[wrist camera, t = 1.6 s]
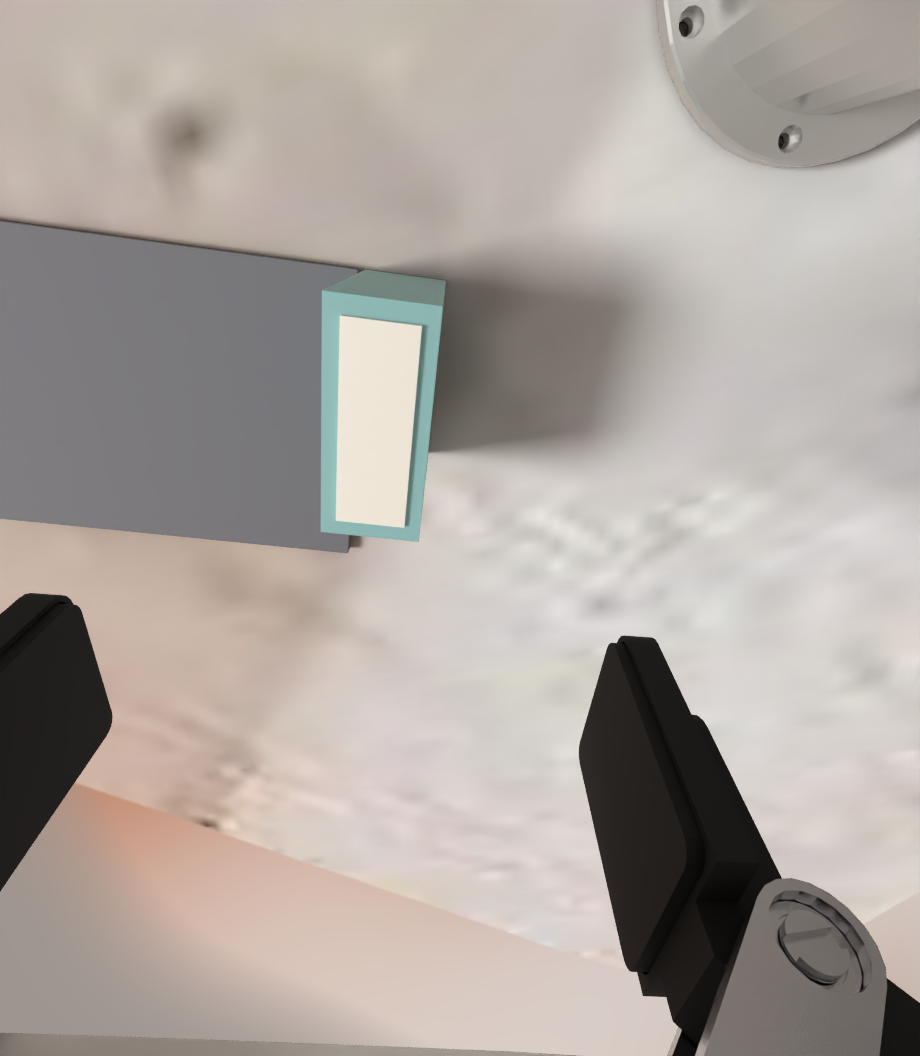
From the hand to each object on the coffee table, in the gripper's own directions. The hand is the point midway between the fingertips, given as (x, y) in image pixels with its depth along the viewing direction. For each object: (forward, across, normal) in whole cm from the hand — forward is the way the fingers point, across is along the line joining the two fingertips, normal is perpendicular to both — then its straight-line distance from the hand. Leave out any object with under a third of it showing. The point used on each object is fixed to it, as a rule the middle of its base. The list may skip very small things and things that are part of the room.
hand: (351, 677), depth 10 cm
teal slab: (+19, +1, -1) cm, 19 cm away
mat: (+18, +12, +2) cm, 22 cm away
